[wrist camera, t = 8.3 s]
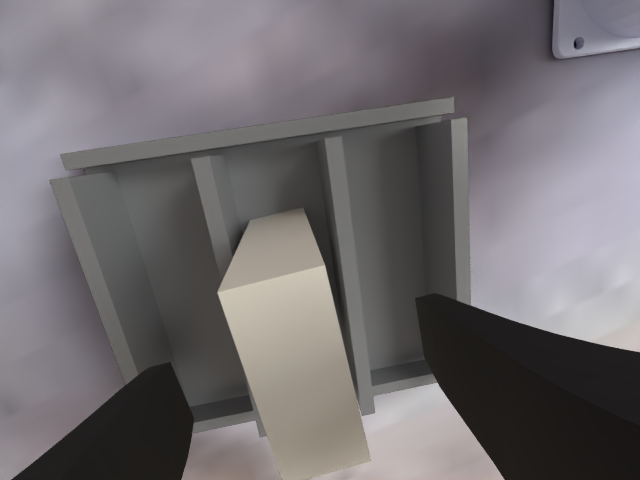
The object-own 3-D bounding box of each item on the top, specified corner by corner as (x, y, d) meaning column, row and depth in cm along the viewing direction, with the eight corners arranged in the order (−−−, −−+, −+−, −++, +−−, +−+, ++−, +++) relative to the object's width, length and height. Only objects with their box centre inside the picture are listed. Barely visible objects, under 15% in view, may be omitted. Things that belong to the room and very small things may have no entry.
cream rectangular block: (302, 207, 15) (324, 264, 7) (330, 319, 17) (371, 460, 9) (250, 220, 15) (217, 292, 7) (282, 331, 17) (284, 485, 9)
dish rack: (432, 101, 15) (482, 84, 12) (444, 356, 19) (485, 407, 15) (88, 151, 14) (17, 151, 10) (174, 410, 18) (145, 480, 14)
